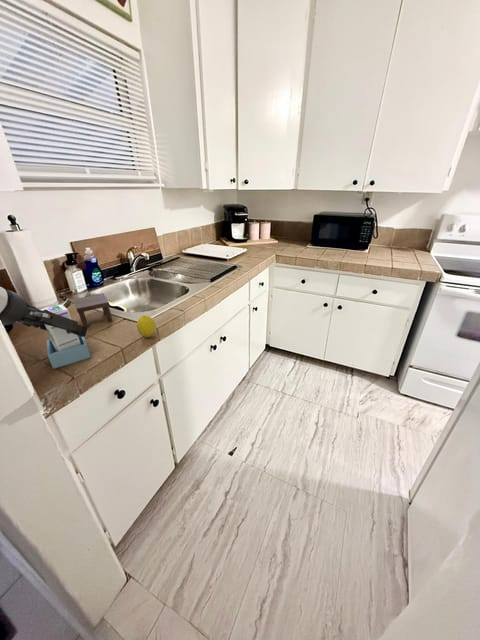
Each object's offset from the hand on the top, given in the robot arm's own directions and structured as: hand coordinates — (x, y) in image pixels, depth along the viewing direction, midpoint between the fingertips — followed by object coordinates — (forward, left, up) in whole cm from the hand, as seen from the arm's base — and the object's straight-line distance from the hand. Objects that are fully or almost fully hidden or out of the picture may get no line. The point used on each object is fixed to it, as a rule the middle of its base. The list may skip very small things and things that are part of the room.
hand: (72, 331), depth 77 cm
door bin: (+3, -2, -6) cm, 7 cm away
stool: (-17, +8, -6) cm, 20 cm away
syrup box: (+2, -2, -6) cm, 7 cm away
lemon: (+6, +20, -6) cm, 21 cm away
